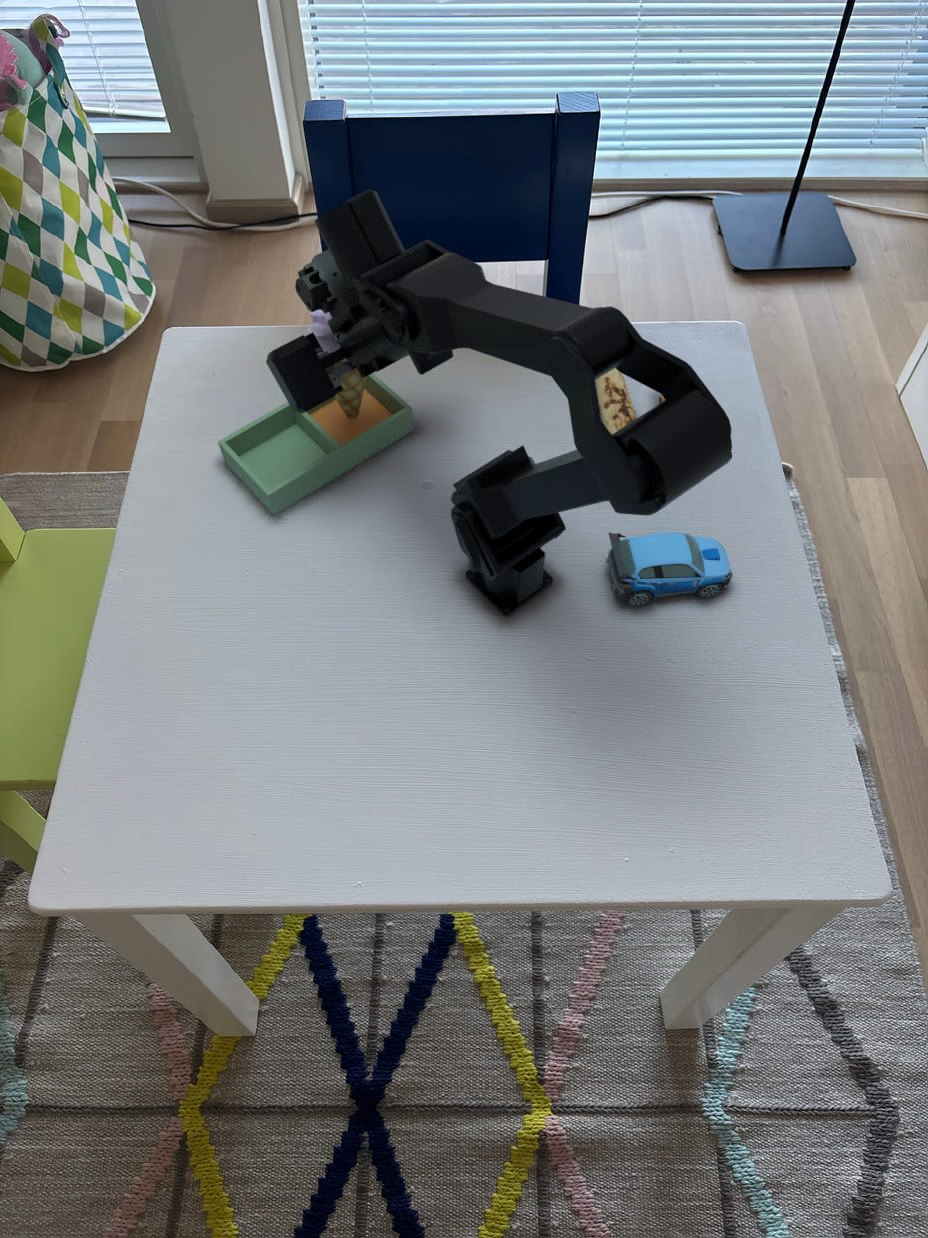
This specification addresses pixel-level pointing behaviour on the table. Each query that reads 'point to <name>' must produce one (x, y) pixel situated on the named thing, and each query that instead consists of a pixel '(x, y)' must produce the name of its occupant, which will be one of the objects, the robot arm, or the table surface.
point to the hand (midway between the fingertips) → (338, 356)
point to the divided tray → (313, 444)
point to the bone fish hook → (615, 401)
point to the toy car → (667, 566)
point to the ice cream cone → (351, 380)
